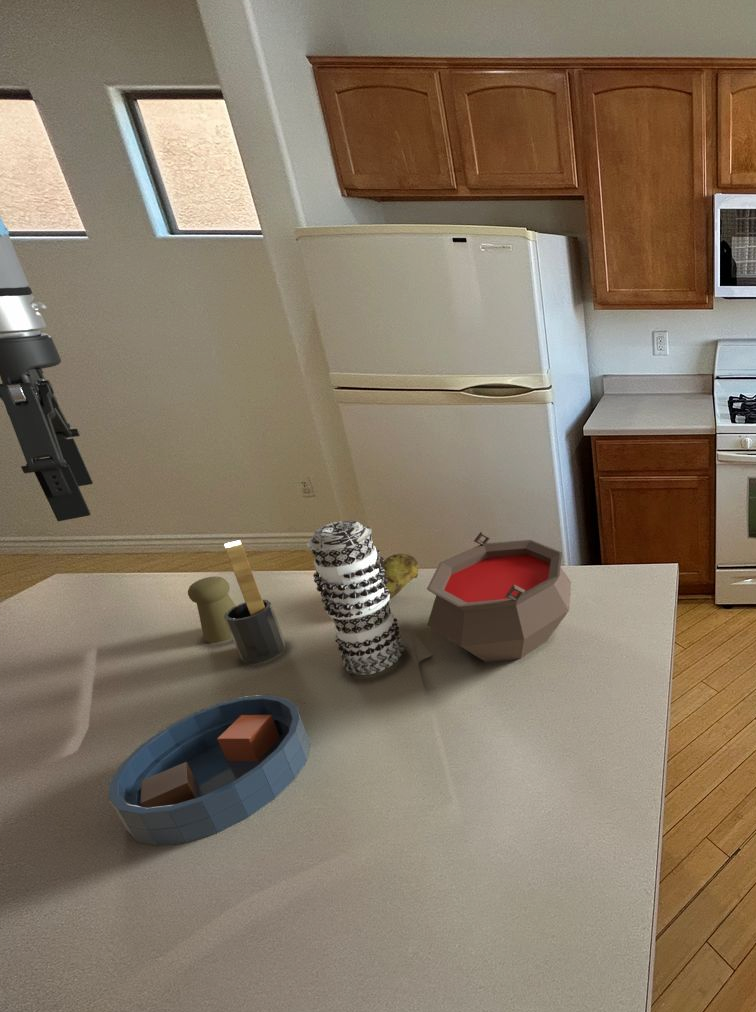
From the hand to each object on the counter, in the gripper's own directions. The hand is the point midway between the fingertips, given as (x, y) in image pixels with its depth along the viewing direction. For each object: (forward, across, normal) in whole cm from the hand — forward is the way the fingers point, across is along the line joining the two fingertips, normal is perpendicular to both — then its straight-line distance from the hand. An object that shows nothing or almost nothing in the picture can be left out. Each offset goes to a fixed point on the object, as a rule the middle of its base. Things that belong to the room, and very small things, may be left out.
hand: (76, 500), depth 72 cm
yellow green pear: (+31, +3, -32) cm, 45 cm away
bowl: (+31, -28, -5) cm, 42 cm away
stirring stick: (+31, -1, -14) cm, 34 cm away
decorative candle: (+31, -16, -25) cm, 43 cm away
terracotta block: (+30, -24, -8) cm, 40 cm away
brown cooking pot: (+31, -24, -44) cm, 59 cm away
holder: (+32, -1, -12) cm, 34 cm away
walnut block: (+31, -28, 0) cm, 42 cm away
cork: (+32, +10, -9) cm, 35 cm away
